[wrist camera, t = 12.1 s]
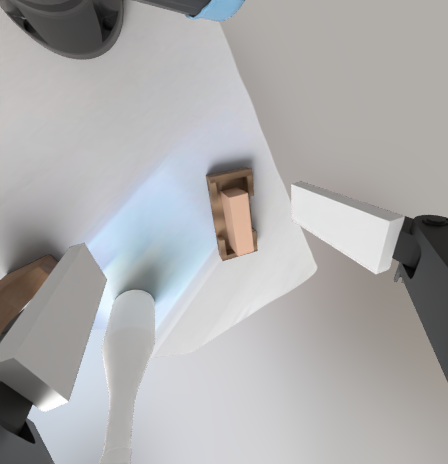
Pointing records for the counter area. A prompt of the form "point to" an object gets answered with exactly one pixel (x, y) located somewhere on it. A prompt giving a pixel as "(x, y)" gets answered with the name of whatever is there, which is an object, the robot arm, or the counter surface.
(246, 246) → the peach rectangular block
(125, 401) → the wine bottle
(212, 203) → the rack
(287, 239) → the counter surface
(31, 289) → the wooden block
